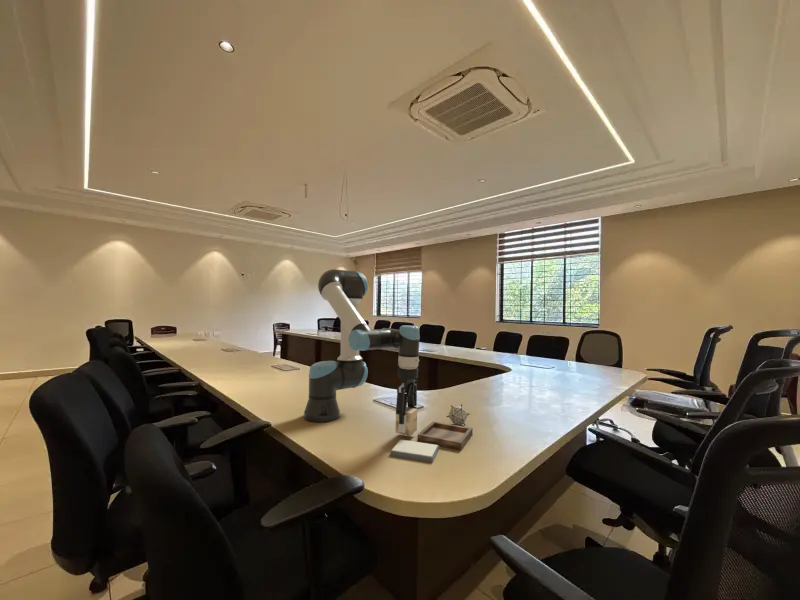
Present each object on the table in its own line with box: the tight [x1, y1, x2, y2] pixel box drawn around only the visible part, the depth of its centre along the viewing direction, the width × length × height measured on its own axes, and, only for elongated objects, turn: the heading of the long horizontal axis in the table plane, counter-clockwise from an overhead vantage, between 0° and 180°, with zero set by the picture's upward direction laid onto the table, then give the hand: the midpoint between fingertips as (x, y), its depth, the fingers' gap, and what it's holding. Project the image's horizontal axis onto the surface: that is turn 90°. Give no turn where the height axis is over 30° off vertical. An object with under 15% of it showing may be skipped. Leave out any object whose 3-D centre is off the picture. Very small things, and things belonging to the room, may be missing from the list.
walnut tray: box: [416, 420, 474, 451], centre depth 124 cm, size 16×16×2 cm
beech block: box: [394, 406, 418, 436], centre depth 125 cm, size 6×6×8 cm
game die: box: [446, 404, 471, 426], centre depth 138 cm, size 9×8×10 cm
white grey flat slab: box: [389, 439, 440, 463], centre depth 111 cm, size 14×10×2 cm
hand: (406, 429), depth 125 cm, fingers closed on beech block, 6 cm apart
